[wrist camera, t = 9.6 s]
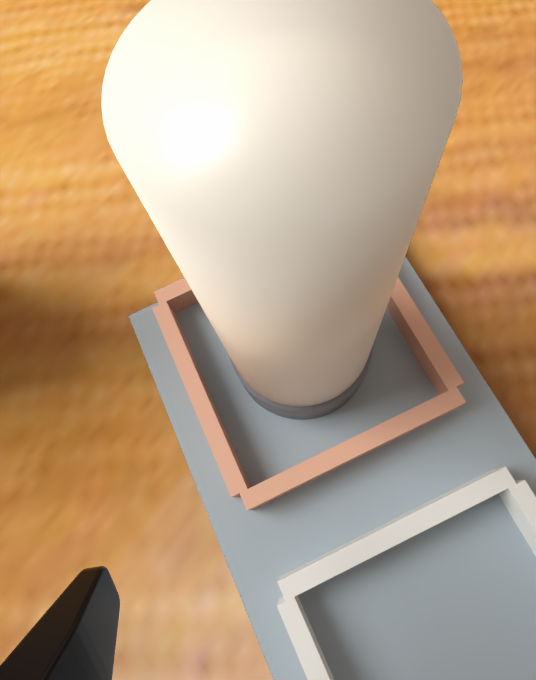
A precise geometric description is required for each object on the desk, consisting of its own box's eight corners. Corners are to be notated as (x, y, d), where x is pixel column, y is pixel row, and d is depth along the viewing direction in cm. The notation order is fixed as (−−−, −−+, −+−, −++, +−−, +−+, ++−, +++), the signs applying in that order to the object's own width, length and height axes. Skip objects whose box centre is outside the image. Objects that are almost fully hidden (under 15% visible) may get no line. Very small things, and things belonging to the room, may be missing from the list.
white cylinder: (395, 351, 19) (553, 54, 6) (302, 448, 18) (277, 322, 6) (299, 269, 20) (276, -104, 8) (209, 355, 19) (23, 92, 7)
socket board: (682, 716, 15) (746, 753, 13) (366, 891, 15) (375, 961, 13) (368, 219, 22) (374, 185, 20) (138, 325, 21) (117, 304, 19)
